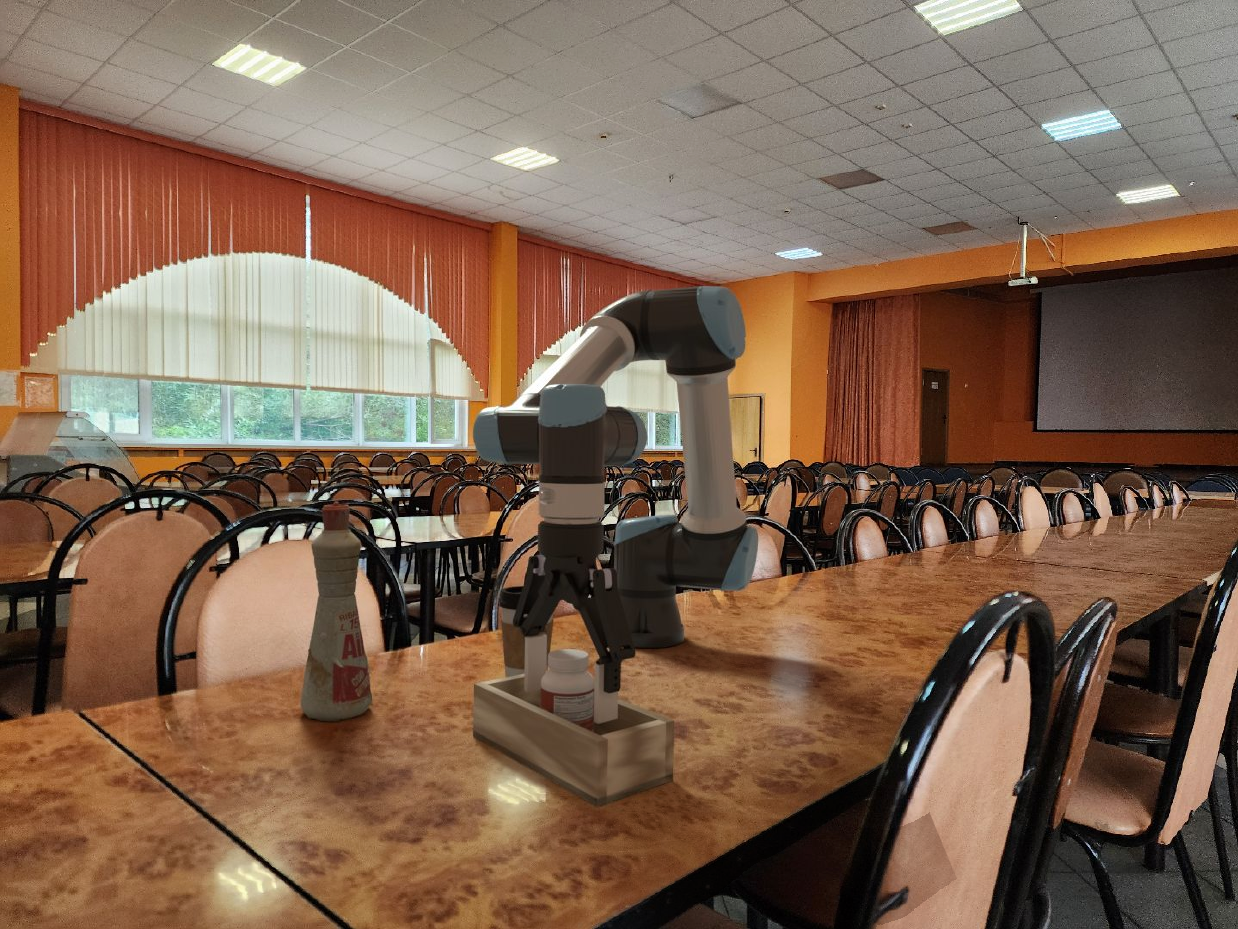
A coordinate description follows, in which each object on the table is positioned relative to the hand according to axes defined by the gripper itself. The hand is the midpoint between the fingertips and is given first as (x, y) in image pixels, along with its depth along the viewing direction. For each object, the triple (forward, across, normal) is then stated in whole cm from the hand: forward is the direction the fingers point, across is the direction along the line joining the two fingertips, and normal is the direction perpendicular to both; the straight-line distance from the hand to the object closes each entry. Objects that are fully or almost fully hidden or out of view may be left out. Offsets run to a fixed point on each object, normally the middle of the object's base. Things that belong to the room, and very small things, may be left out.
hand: (568, 704), depth 92 cm
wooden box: (+6, 0, 0) cm, 6 cm away
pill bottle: (+5, 0, 0) cm, 5 cm away
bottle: (+6, -31, -15) cm, 35 cm away
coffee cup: (+6, -25, +11) cm, 28 cm away
